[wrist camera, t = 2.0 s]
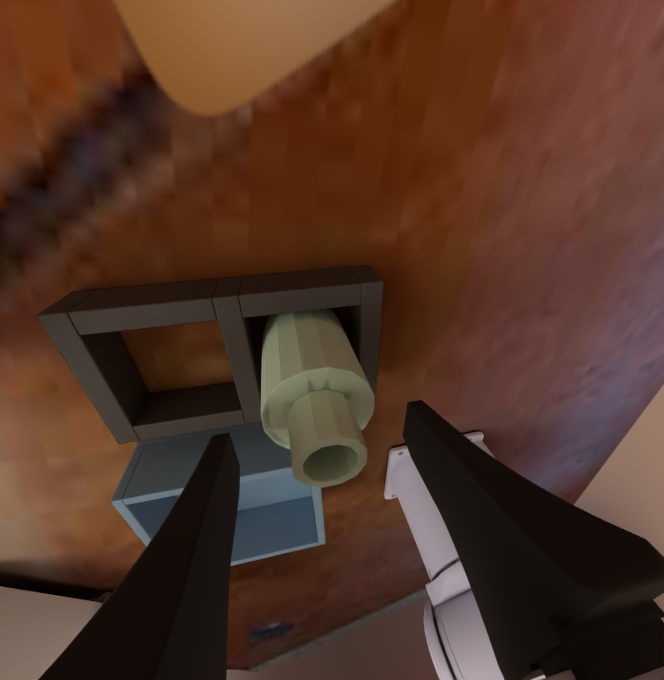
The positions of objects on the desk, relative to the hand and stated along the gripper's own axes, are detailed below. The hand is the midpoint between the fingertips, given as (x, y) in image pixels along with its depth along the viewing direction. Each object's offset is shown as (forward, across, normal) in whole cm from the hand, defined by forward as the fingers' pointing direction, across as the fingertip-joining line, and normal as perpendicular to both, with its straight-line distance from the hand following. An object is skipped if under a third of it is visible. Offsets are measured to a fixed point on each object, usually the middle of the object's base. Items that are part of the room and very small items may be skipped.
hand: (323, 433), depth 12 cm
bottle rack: (+8, +4, 0) cm, 9 cm away
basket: (+8, +6, +12) cm, 16 cm away
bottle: (+8, 0, 0) cm, 8 cm away
